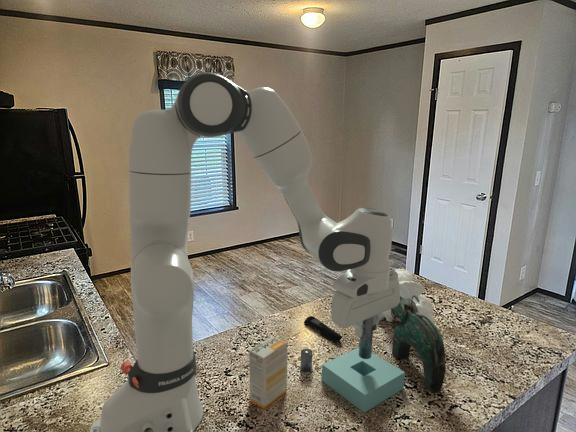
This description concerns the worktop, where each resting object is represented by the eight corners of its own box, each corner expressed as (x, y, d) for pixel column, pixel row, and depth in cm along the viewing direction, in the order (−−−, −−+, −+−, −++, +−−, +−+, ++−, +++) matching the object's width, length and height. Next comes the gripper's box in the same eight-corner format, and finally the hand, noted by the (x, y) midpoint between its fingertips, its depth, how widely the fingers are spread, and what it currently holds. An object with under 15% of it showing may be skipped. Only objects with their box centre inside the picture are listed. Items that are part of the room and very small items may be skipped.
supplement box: (272, 383, 96) (272, 334, 93) (287, 391, 93) (288, 342, 90) (248, 400, 89) (248, 349, 86) (263, 410, 86) (264, 357, 84)
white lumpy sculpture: (458, 309, 117) (402, 272, 117) (417, 359, 120) (363, 323, 120) (440, 287, 135) (392, 256, 135) (405, 331, 139) (359, 300, 139)
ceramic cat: (385, 350, 111) (390, 284, 106) (405, 348, 112) (411, 282, 108) (427, 396, 92) (435, 318, 88) (450, 392, 94) (459, 315, 89)
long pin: (365, 360, 92) (368, 313, 89) (356, 354, 94) (358, 308, 92) (374, 356, 94) (376, 310, 91) (364, 350, 96) (367, 305, 93)
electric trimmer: (334, 347, 113) (335, 337, 112) (302, 324, 125) (303, 315, 125) (344, 343, 115) (345, 333, 114) (312, 321, 127) (312, 312, 127)
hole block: (364, 412, 86) (365, 395, 85) (321, 380, 97) (322, 364, 96) (403, 388, 94) (404, 372, 93) (360, 361, 105) (361, 346, 104)
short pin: (305, 373, 100) (305, 356, 98) (298, 368, 102) (298, 350, 101) (314, 369, 101) (314, 352, 100) (306, 364, 104) (307, 347, 103)
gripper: (387, 264, 98) (384, 315, 101) (327, 283, 86) (325, 340, 89) (408, 272, 93) (404, 324, 96) (348, 293, 81) (345, 352, 84)
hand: (366, 332), depth 93 cm, fingers closed on long pin, 3 cm apart
